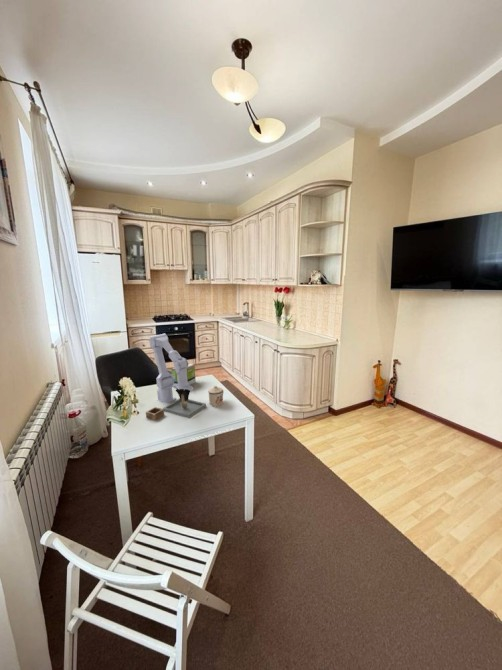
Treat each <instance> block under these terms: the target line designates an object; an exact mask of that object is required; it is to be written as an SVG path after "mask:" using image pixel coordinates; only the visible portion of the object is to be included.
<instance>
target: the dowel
mask: <svg viewBox="0 0 502 670" xmlns="http://www.w3.org/2000/svg"><path fill="white" fill-rule="evenodd" d="M181 398H182V407H183V408H186V407H187V401H185V400H184V395H183V394H181Z"/></svg>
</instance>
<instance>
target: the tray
mask: <svg viewBox="0 0 502 670" xmlns="http://www.w3.org/2000/svg"><path fill="white" fill-rule="evenodd" d="M205 408H207V403H206V402H201V401H198V400H197V401H196V400H193V399H189V398H188V400H187V407H186V408H183V407H182V400H180V398H179V399H176V400H174V401H172V403H171V402H170V403H169V404H167V405H166V406H165V407H162V409H164V412H167V413H170V414H173V415H175V416H180V417H184V418H187V419H189V418H191V417H193V416H194V415H195V414H197V413H198V412H200V411H201V410H203V409H205Z"/></svg>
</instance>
